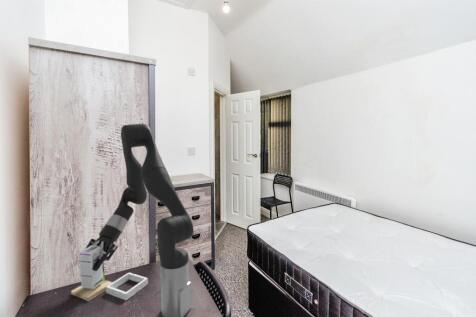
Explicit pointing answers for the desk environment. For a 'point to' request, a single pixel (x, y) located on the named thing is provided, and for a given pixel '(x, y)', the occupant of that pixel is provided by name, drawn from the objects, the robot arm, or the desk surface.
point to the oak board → (90, 291)
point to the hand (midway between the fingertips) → (88, 268)
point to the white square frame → (126, 295)
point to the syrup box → (90, 267)
